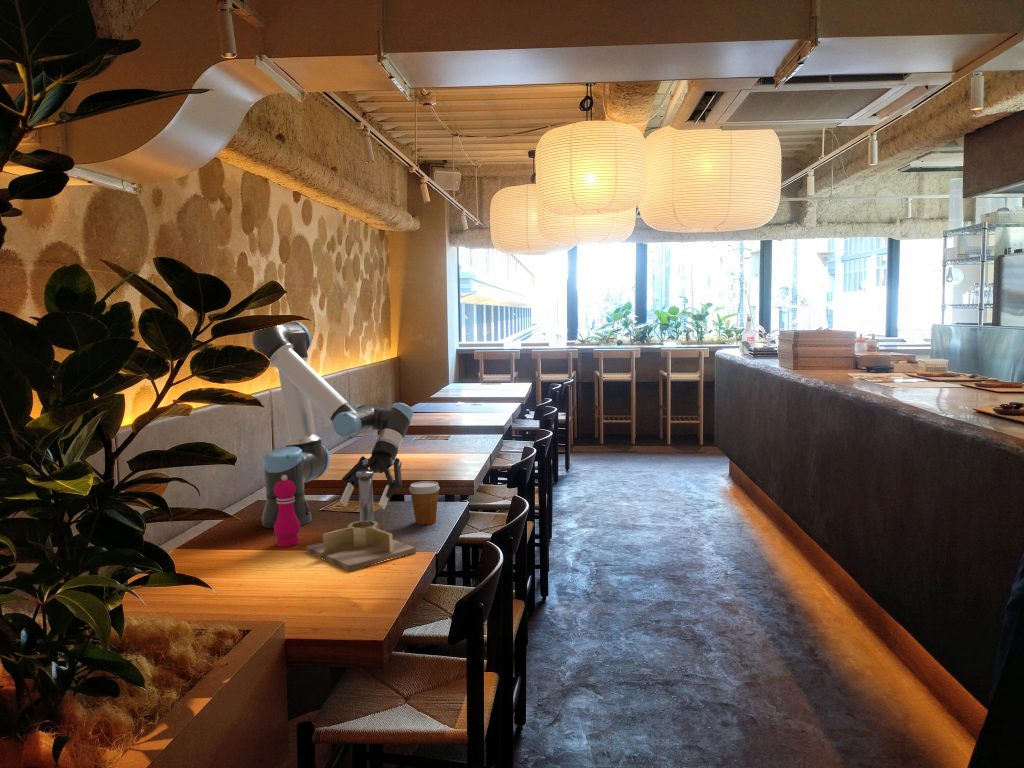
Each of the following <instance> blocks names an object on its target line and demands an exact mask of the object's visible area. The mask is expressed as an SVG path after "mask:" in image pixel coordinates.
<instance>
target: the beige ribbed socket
mask: <svg viewBox="0 0 1024 768" xmlns="http://www.w3.org/2000/svg"><path fill="white" fill-rule="evenodd" d="M393 540H394V538H393V533H391V532H388V531H385V530H382V529H380V524H379V522H377V521H375V520H374V521H360V520H358V521H354V522H350V523H349V524H348V525H347V526H346V527H345V528H341V529H336V530H332V531H329V532H325V533H322V542H323V548H324V552H325V553H326V552H330V551H334V550H338V549H342V548H346V547H349V546H354V547H365V546H373V547H375V548H378V549H380V550H383V551H385V552H388V553H393Z"/></svg>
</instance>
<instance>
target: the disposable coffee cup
mask: <svg viewBox="0 0 1024 768" xmlns="http://www.w3.org/2000/svg"><path fill="white" fill-rule="evenodd" d="M440 488H441V487H440V486H439V483H438V481H437V482H436V481H417V482H413V483H411V484H410V486H409V493H410V496H411V502H412V508H413V513H414V514H413V515H414V519H415V524H417V525H421V524H423V525H424V524H427V525H432V524H435V523H436V522H437V514H438V512H437V511H438V500H439V491H440ZM423 525H422V526H423Z"/></svg>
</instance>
